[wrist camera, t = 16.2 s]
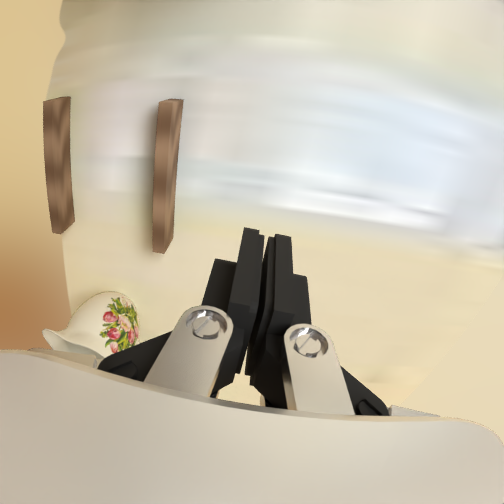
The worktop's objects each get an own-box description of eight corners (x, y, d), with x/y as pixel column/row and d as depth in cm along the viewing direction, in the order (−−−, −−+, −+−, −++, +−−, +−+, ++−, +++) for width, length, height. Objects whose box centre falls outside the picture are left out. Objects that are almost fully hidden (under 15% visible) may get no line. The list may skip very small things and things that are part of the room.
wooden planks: (61, 97, 33) (43, 101, 29) (183, 99, 33) (172, 102, 30) (66, 219, 42) (52, 232, 39) (173, 238, 42) (164, 253, 39)
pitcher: (136, 354, 56) (112, 413, 44) (69, 283, 48) (27, 339, 37) (179, 338, 52) (158, 405, 40) (106, 257, 45) (61, 318, 33)
